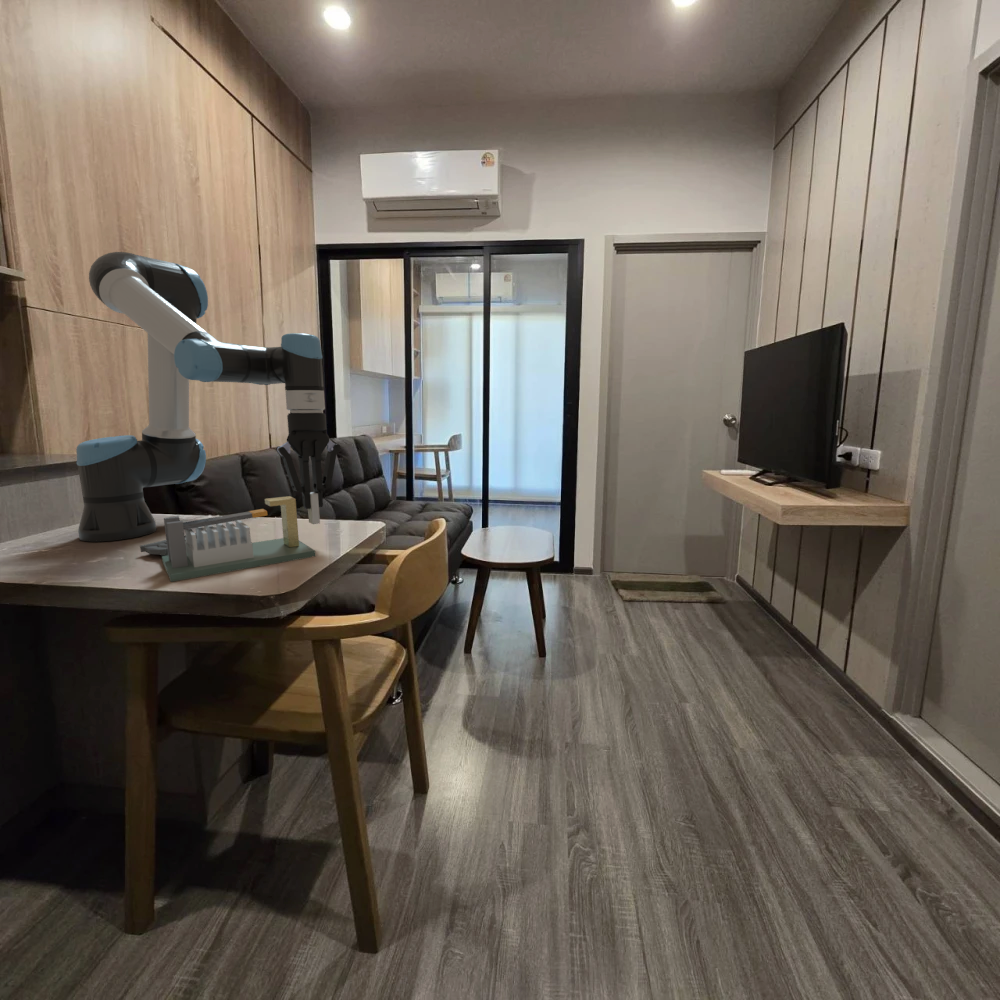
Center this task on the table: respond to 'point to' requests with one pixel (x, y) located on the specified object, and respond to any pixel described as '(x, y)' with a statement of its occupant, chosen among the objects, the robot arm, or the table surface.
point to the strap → (224, 519)
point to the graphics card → (160, 546)
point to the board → (259, 559)
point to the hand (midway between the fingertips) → (314, 522)
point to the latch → (287, 518)
